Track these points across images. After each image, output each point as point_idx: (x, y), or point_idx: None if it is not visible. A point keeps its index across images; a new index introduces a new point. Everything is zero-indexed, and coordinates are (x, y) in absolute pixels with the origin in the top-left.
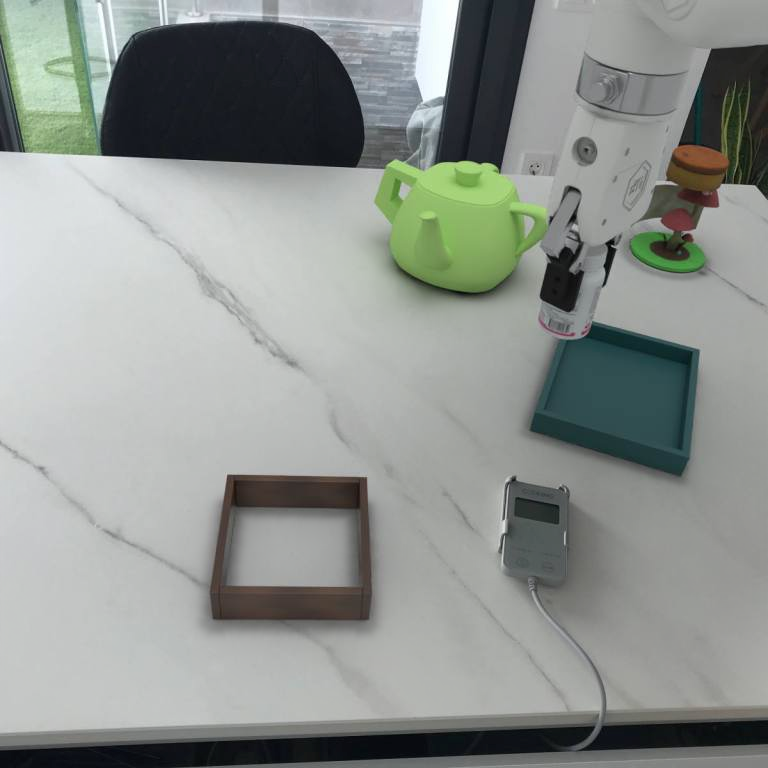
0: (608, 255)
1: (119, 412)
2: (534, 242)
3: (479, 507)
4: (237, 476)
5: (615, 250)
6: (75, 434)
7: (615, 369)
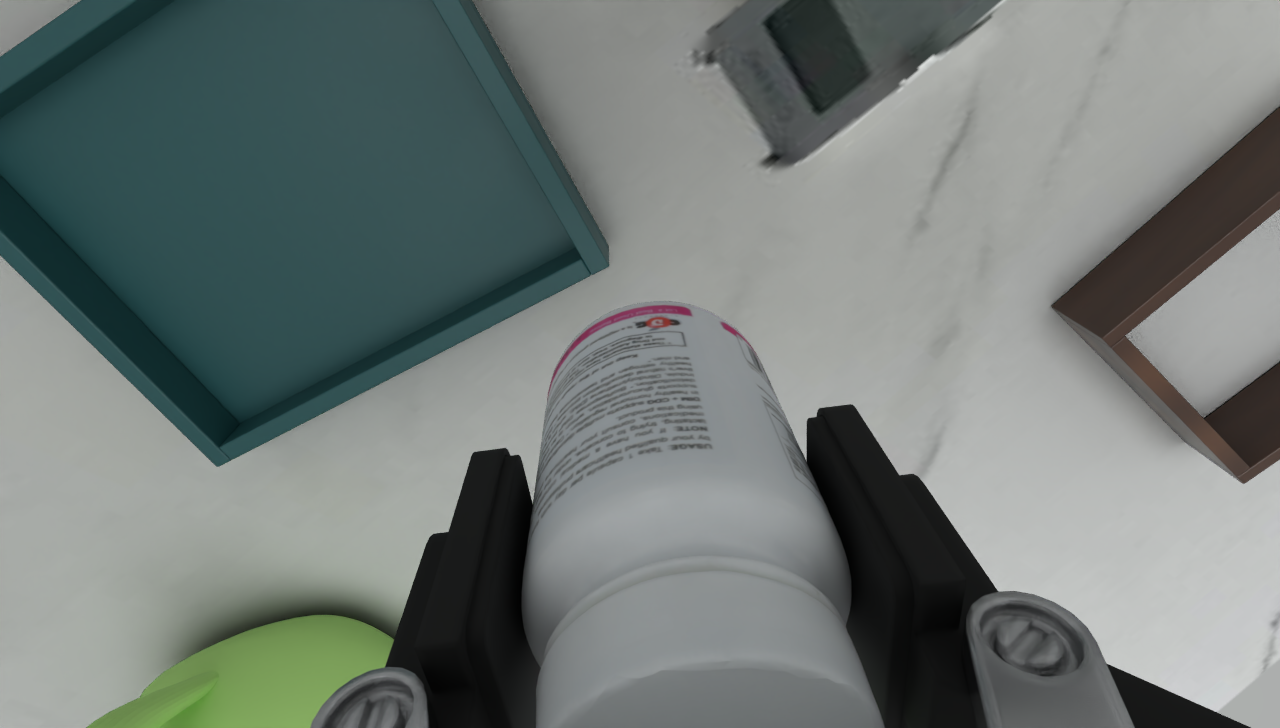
0: (489, 620)
1: (1118, 659)
2: (156, 703)
3: (904, 148)
4: (1239, 471)
5: (433, 638)
6: (1192, 652)
7: (225, 260)
